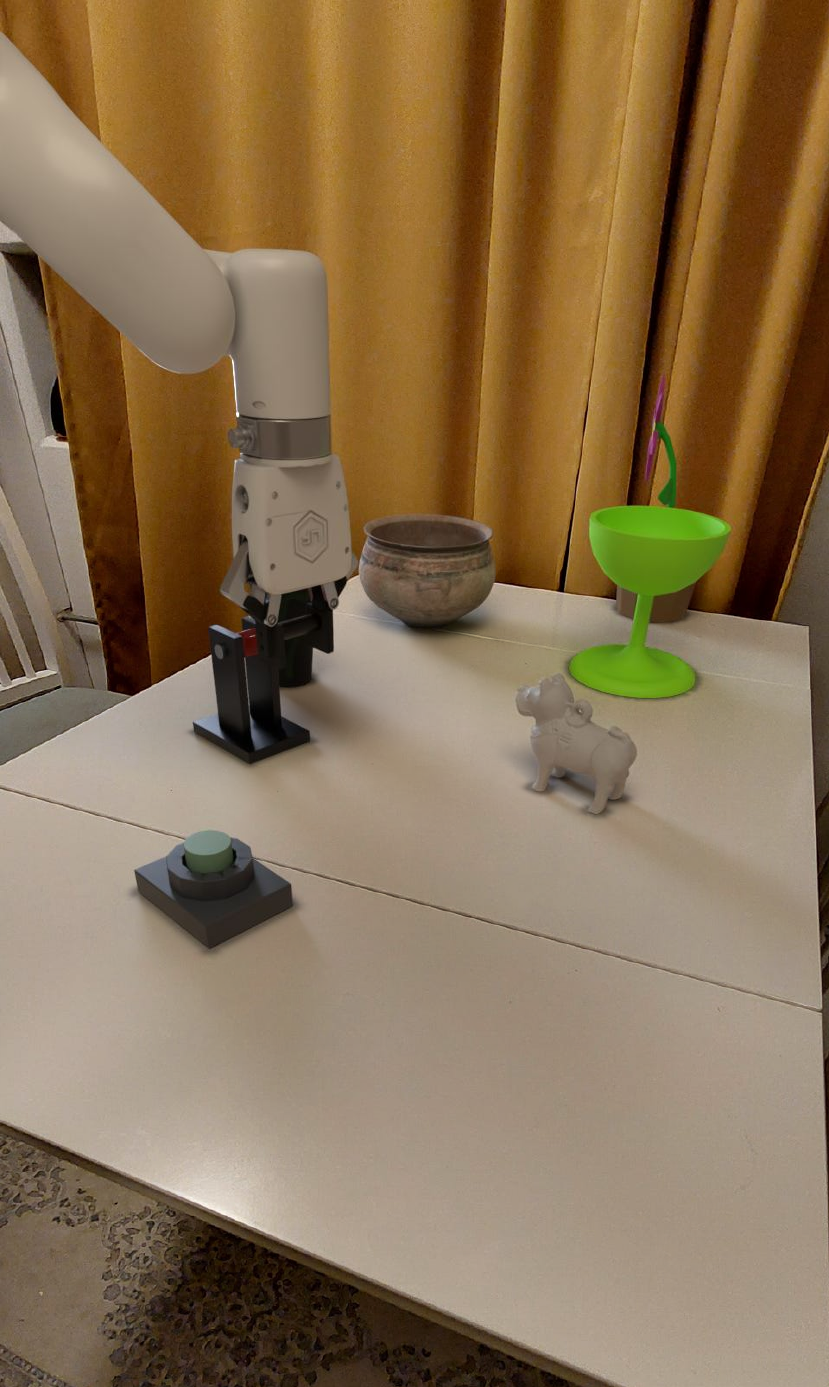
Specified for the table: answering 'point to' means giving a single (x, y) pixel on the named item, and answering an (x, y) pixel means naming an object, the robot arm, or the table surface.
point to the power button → (208, 851)
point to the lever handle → (290, 630)
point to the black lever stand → (246, 702)
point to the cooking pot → (427, 567)
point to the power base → (214, 893)
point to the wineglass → (647, 591)
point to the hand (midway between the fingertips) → (297, 654)
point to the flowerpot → (677, 602)
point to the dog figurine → (574, 740)
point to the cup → (295, 641)
